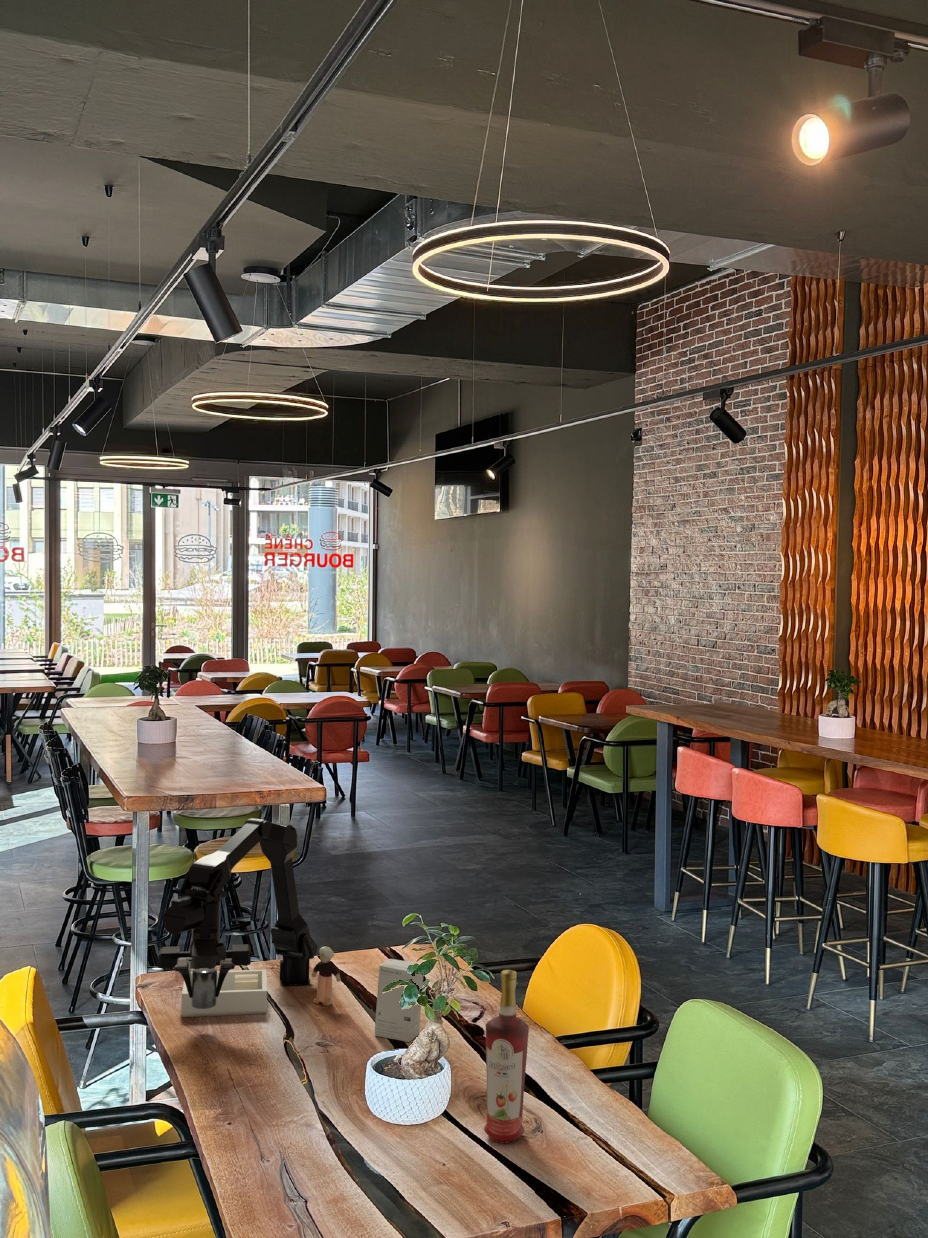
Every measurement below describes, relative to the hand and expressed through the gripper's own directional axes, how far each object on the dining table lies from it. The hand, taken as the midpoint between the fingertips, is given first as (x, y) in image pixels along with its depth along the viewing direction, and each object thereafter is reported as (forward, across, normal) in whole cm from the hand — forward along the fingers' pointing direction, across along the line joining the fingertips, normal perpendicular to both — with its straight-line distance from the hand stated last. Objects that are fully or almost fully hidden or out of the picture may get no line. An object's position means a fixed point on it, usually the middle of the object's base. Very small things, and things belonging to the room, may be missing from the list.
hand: (204, 997), depth 228 cm
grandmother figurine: (+7, +26, +12) cm, 30 cm away
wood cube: (+6, +9, +14) cm, 18 cm away
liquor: (+7, +52, -54) cm, 75 cm away
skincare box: (+7, +40, -8) cm, 41 cm away
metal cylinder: (+2, 0, 0) cm, 2 cm away
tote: (+7, +4, +14) cm, 16 cm away
